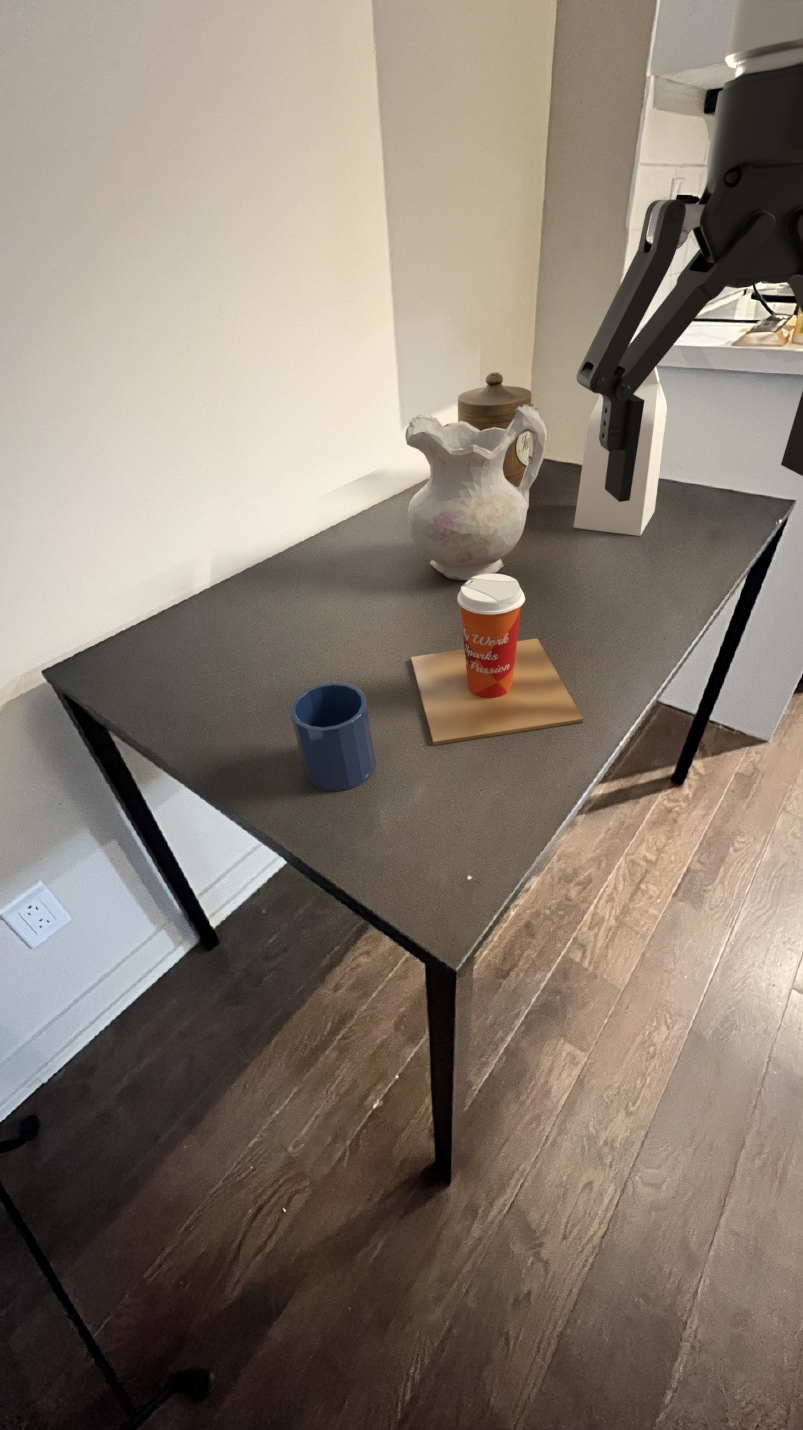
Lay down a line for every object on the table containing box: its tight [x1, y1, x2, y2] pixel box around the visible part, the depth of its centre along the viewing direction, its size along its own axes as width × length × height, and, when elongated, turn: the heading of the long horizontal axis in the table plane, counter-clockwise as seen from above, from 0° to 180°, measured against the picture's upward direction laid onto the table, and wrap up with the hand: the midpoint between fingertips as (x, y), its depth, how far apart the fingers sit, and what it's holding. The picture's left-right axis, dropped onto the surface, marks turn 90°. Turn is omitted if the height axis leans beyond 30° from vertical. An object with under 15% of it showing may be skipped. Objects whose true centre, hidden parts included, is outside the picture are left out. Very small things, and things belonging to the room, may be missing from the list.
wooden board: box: [410, 638, 584, 746], centre depth 80 cm, size 18×18×1 cm
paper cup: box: [456, 573, 526, 698], centre depth 76 cm, size 8×8×14 cm
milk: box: [573, 366, 668, 537], centre depth 109 cm, size 12×12×26 cm
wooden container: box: [457, 372, 532, 487], centre depth 128 cm, size 15×15×22 cm
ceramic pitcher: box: [404, 403, 547, 581], centre depth 100 cm, size 22×20×25 cm
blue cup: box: [290, 681, 376, 792], centre depth 69 cm, size 8×8×9 cm
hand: (707, 482), depth 45 cm, fingers open, 13 cm apart
